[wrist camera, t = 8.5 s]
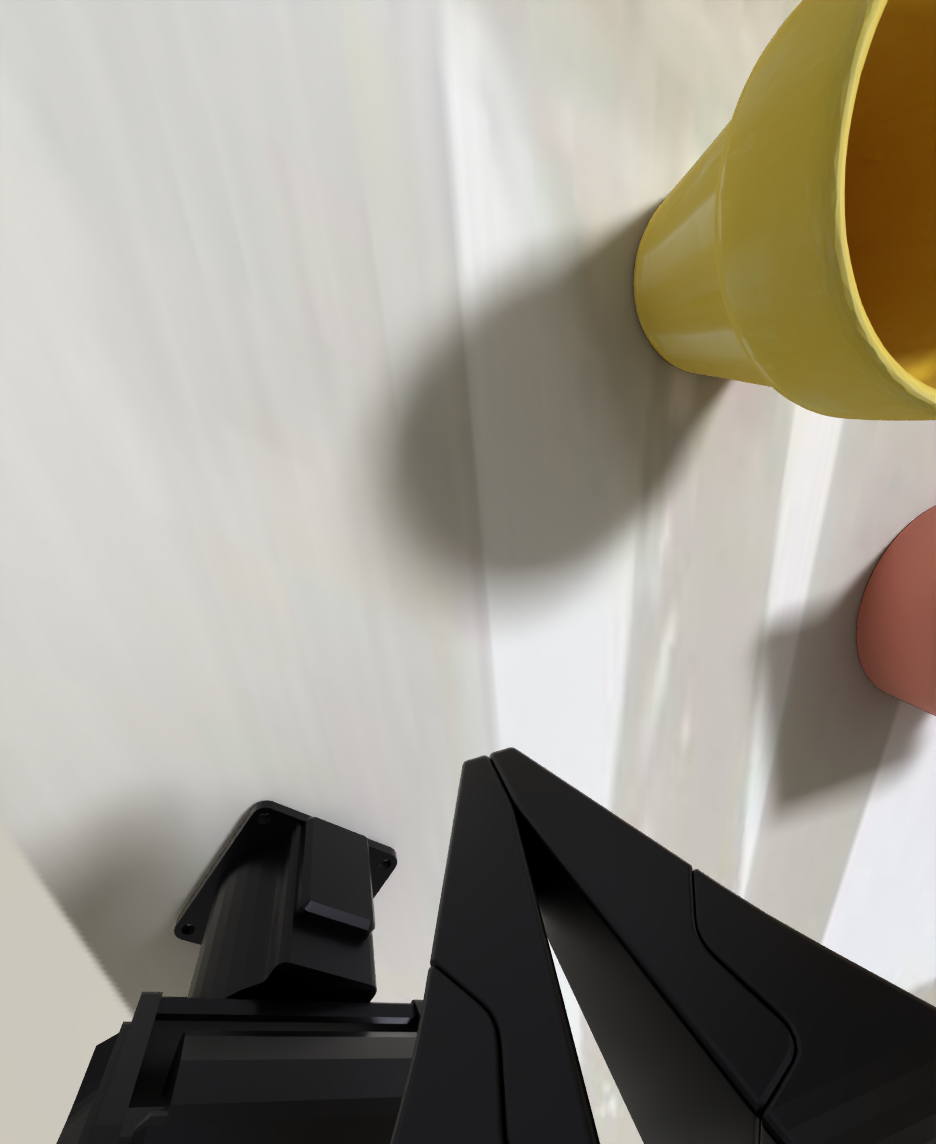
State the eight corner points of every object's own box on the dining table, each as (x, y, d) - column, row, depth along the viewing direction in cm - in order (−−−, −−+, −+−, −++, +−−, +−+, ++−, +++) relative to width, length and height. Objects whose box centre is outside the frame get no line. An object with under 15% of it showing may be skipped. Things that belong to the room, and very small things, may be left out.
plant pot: (698, 480, 21) (976, 514, 12) (526, 286, 18) (736, 124, 8) (863, 282, 21) (1281, 161, 12) (722, 43, 17) (1167, -408, 8)
